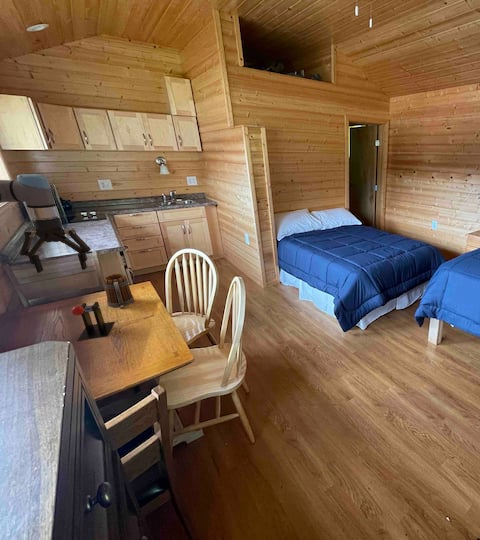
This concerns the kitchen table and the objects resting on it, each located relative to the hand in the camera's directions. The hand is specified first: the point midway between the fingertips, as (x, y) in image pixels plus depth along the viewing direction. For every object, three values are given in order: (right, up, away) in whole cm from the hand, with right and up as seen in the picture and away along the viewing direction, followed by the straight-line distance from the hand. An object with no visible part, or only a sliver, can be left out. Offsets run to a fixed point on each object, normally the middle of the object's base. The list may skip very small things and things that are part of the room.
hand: (63, 270), depth 120 cm
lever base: (+7, -27, +8) cm, 29 cm away
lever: (+10, -17, -1) cm, 20 cm away
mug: (0, -18, +29) cm, 34 cm away
